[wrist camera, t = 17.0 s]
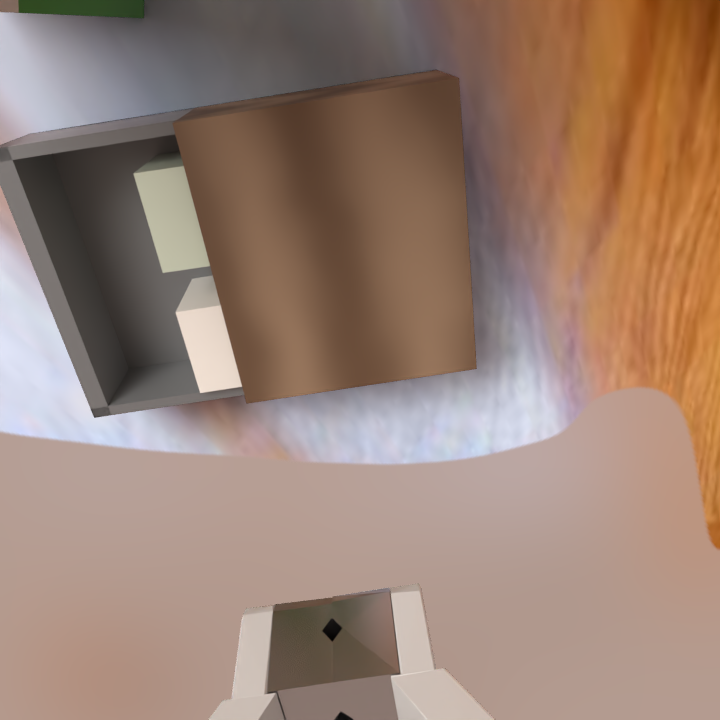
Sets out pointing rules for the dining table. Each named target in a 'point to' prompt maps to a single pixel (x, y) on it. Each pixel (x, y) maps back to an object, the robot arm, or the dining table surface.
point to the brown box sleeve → (337, 232)
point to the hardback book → (77, 7)
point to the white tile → (207, 337)
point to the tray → (105, 259)
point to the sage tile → (171, 213)
